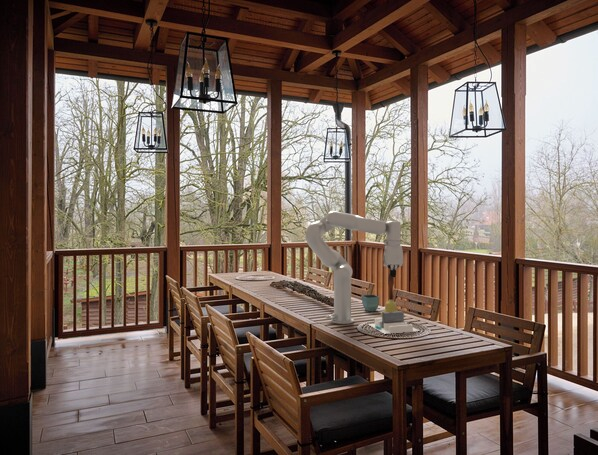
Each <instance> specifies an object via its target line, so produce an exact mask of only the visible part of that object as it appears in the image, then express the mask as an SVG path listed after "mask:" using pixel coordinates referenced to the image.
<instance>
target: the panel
mask: <svg viewBox="0 0 598 455" xmlns="http://www.w3.org/2000/svg"><path fill="white" fill-rule="evenodd" d="M381 313H382V315H381V318H382V327H383V328H384V323H397V322H405V321H404V320H405V312H404V311H402V310H398V311H393V312H383V311H382V312H381Z"/></svg>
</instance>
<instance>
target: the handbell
mask: <svg viewBox="0 0 598 455" xmlns="http://www.w3.org/2000/svg"><path fill="white" fill-rule="evenodd" d="M387 279H388V280H387V281H388V282H387V284H388V288H389V290H388V296H389V297H388V301H386V302H385V306H384V307H385V308H384V309H383V311H382V312H393V311H399V310H398V308H397V303H396V302H395V301H394V284H395V277H390V272H389V273H388V278H387ZM382 312H380V315H381V316H382Z"/></svg>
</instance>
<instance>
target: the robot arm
mask: <svg viewBox="0 0 598 455" xmlns="http://www.w3.org/2000/svg"><path fill="white" fill-rule="evenodd" d="M334 228H342V229H345V230H346V229H347V230H351V231H355V232H362V233H367V234H371V235H372V234H374V235H378V236H379V235H384V234H386V236H385V237H386V240H385V241H384V242H383V244H385V246H384V250H383V257H382V258H383V259H382V260H383V267H385V268H388V269H389V273H390V277H394V278H396V276H397V269H399V267H402V266H403V264H404V251H403V246H402V245H401V236H402V235H401V231H402V224H401V221H398V220H388V221H387V220H381V219H378V220H377V219H371V218H366V217H362V216H360V215H359V214H358V215H357V214H354V213H353V214H351V213H348V212H347V213H346V212H341V211H338V210H331V211H328V212H327V214H326V215H325V216H324V217H322V218H321V219H319V220H317V221H314V222H311V223H310V224H309V225H308V226H307V228H306V231H305V240H306V243H307V245H308V246H309V248H310V249H311V250H312V251H313V253H314V254H315V255H316V256H317V258H318V259H319V260H320V261H321V263H322V264H323V265H324V266H325V267H326V268H330V269H331V270H332V271H333V312H332V314H327V315H325V319H327V320H328V319H329V320H330V321H331V323H334V324H340V325H349V324H353V323H354V321H355V319H354V318H352V283H351V281H352V276H353V268H352V266H351V265H350V264H349V263H348V262H347V260H345V258H344V257H343V255H341V254H340V253H339V252H338V251H337V250H335V249H332V248H331V247H330V246H329V244H327V242H326V241H325V240H324V239H323V238H322V237H323V236H324V235H325V234H327V233H328V232H329V231H331V230H333V229H334Z"/></svg>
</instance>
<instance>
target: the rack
mask: <svg viewBox="0 0 598 455" xmlns="http://www.w3.org/2000/svg"><path fill="white" fill-rule="evenodd" d="M373 320H374V323H368V324H367V326H368V325H369V326H371V327H373V328H375V329H377V330H379V331H380V332H382V333H384V334H386V333H402V332H416V331H420V330H419V329H417V328H415V327H414V325H413V324H411V323H409V324H408V321H404V322H397V323H384V328H383V327H382V317H377V318H374V319H373ZM369 326H368V327H369ZM371 327H370V328H371ZM373 328H372V329H373ZM375 329H374V330H375ZM380 332H379V333H380ZM416 333H417V332H416Z"/></svg>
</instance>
